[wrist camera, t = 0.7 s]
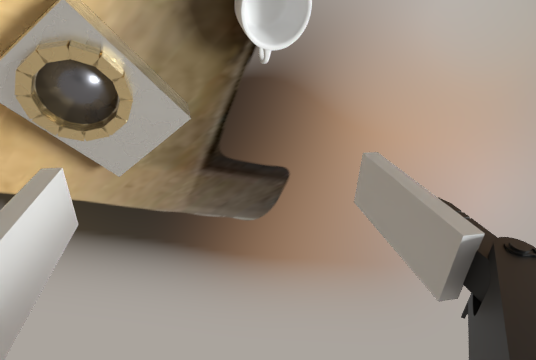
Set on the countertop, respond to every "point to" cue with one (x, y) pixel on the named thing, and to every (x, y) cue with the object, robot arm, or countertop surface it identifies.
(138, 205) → the countertop surface
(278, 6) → the teacup
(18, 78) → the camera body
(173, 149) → the countertop surface
